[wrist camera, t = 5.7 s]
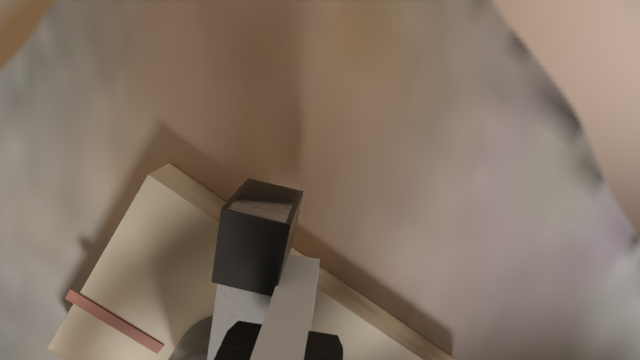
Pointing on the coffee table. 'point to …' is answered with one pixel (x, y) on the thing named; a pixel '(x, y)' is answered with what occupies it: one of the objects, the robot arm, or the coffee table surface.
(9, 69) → the coffee table surface
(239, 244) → the saucepan with lid
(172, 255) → the wooden cutting board
